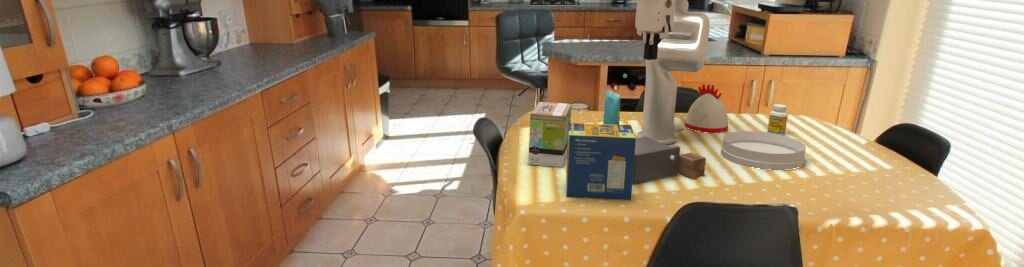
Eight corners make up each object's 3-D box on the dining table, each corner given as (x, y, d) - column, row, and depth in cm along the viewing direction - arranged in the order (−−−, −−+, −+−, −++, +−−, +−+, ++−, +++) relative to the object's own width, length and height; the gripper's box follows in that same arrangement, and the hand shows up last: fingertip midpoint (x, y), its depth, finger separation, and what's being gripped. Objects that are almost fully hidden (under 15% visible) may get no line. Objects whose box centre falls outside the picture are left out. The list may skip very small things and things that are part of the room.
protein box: (565, 181, 139) (568, 122, 135) (627, 184, 138) (632, 124, 134) (565, 197, 129) (568, 134, 125) (631, 201, 128) (637, 137, 124)
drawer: (604, 169, 147) (606, 142, 145) (646, 161, 154) (648, 134, 152) (635, 185, 137) (637, 155, 135) (678, 175, 143) (681, 147, 141)
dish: (813, 157, 160) (816, 141, 158) (789, 177, 144) (792, 159, 143) (737, 141, 174) (739, 126, 173) (707, 158, 158) (709, 142, 157)
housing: (600, 168, 148) (602, 144, 146) (643, 160, 155) (645, 136, 153) (629, 183, 138) (631, 157, 136) (674, 174, 145) (677, 148, 143)
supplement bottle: (785, 133, 183) (790, 105, 180) (783, 137, 179) (788, 108, 176) (768, 130, 186) (772, 102, 183) (765, 134, 181) (770, 106, 179)
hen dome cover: (698, 120, 198) (702, 78, 194) (734, 128, 189) (740, 85, 184) (677, 126, 189) (681, 83, 185) (714, 135, 180) (719, 90, 175)
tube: (623, 161, 155) (628, 94, 149) (609, 163, 153) (613, 95, 147) (608, 153, 161) (612, 88, 155) (594, 155, 159) (597, 90, 153)
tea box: (564, 168, 149) (566, 115, 144) (527, 165, 151) (528, 112, 146) (569, 151, 163) (571, 102, 159) (536, 148, 165) (537, 100, 160)
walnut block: (689, 169, 148) (691, 152, 147) (703, 175, 144) (706, 157, 143) (675, 172, 146) (677, 155, 144) (689, 179, 142) (691, 160, 140)
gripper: (689, -13, 134) (681, 62, 139) (647, -15, 147) (642, 54, 152) (666, -13, 131) (659, 64, 136) (625, -15, 143) (620, 56, 149)
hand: (650, 59), depth 144 cm, fingers closed
